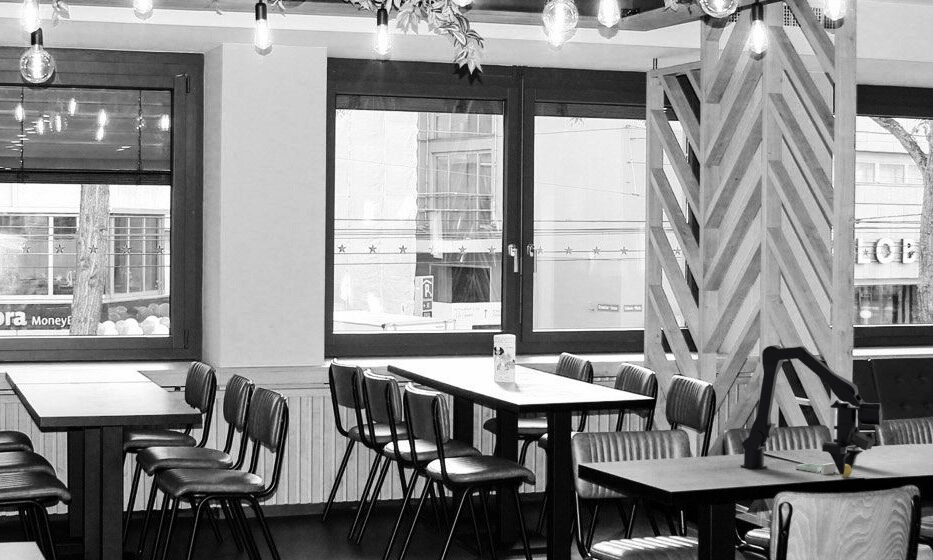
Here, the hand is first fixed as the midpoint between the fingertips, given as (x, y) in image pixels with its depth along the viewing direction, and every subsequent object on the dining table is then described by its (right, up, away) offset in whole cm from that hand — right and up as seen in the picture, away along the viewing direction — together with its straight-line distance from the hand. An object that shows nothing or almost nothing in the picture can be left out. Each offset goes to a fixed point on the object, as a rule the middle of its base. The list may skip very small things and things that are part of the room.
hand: (845, 473), depth 363 cm
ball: (0, +1, 0) cm, 1 cm away
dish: (-7, -1, +12) cm, 13 cm away
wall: (-3, -1, +6) cm, 7 cm away
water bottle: (+8, -1, +24) cm, 25 cm away
